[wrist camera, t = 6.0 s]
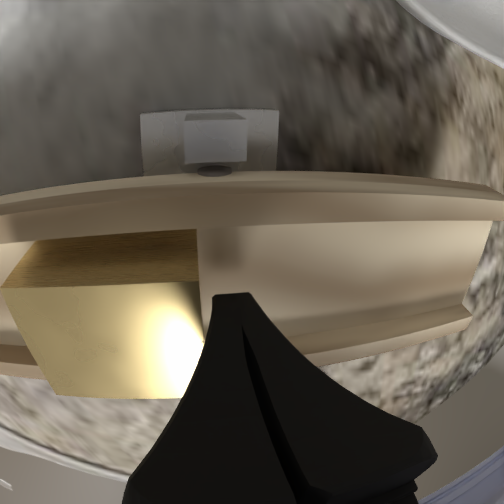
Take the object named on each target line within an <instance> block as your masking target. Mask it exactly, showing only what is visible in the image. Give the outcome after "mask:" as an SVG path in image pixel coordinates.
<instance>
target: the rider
mask: <svg viewBox="0 0 504 504" xmlns="http://www.w3.org/2000/svg"><path fill="white" fill-rule="evenodd" d="M0 290H1V293H2V295H3V297H4V300H5V302H6V304H7V306H8V309H9V311H10V313H11V315H12V317H13V319H14V321H15V323H16V326H17V328H18V330H19V332H20V333H21V335H22V337H23V339H24V341H25V343H26V345H27V347H28V349H29V350H30V352H31V354H32V356H33V357H34V359H35V361H36V363H37V364H38V366H39V368H40V369H41V371H42V373H43V374H44V376H45V378H46V379H47V381H48V382H49V384H50V385H51V387H52V388H53V390H54V392H55V393H56V395H65V396H77V397H93V398H119V399H162V398H182V397H183V395H184V393H185V391H186V389H187V386H188V384H189V382H190V380H191V377H192V375H193V373H194V370H195V368H196V365H197V363H198V360H199V357H200V354H201V351H202V348H203V345H204V342H205V340H204V329H203V318H202V306H201V293H200V279H199V264H198V247H197V229H182V230H166V231H151V232H136V233H122V234H109V235H96V236H83V237H71V238H60V239H49V240H38V241H35V242H34V243H33V245H32V246H31V247H30V248H29V250H28V251H27V252H26V253H25V255H24V256H23V257H22V258H21V260H20V261H19V262H18V264H17V265H16V266H15V268H14V269H13V270H12V272H11V273H10V275H9V276H8V277H7V279H6V280H5V281H4V283H3V284H2V286H1V287H0Z"/></svg>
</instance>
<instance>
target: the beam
mask: <svg viewBox="0 0 504 504" xmlns="http://www.w3.org/2000/svg"><path fill="white" fill-rule="evenodd" d="M493 221H504V195H502V194H501V193H499V192H497V191H495V190H494V189H492V188H490V187H488V186H486V185H482V184H475V183H467V182H459V181H451V180H442V179H432V178H422V177H411V176H399V175H385V174H369V173H350V172H322V171H234V172H232V168H230V167H228V166H222V165H211V166H204V167H201V168H199V169H198V170H197V173H186V174H169V175H155V176H143V177H131V178H121V179H111V180H102V181H93V182H85V183H77V184H69V185H62V186H55V187H48V188H42V189H35V190H29V191H23V192H18V193H12V194H7V195H2V196H0V287H1V286H2V284H3V283H4V281H5V280H6V279H7V277H8V276H9V275H10V273H11V272H12V270H13V269H14V268H15V266H16V265H17V264H18V262H19V261H20V260H21V258H22V257H23V256H24V255H25V253H26V252H27V251H28V250H29V248H30V247H31V246H32V245H33V243H34V242H35V241H38V240H49V239H60V238H71V237H83V236H96V235H109V234H122V233H136V232H151V231H166V230H182V229H197V247H198V264H199V279H200V293H201V306H202V318H203V329H204V340H205V339H206V335H207V331H208V327H209V323H210V318H211V312H212V297H213V296H214V295H215V294H229V293H242V292H249V293H250V294H252V296H253V297H254V299H255V300H256V302H257V303H258V304H259V306H260V307H261V308H262V310H263V311H264V312H265V314H266V315H267V316H268V317H269V319H270V320H271V321H272V322H273V324H274V325H275V326H276V327H277V328H278V329H279V330H280V332H281V333H282V334H283V335H284V336H285V337H286V338H287V339H288V340H289V341H290V342H291V343H292V344H293V346H295V347H296V348H297V349H298V350H299V351H300V352H301V353H302V354H303V355H304V356H305V357H306V358H307V359H308V360H309V361H310V362H311V363H313V364H314V365H315V366H316V367H319V366H325V365H330V364H335V363H340V362H345V361H350V360H355V359H359V358H364V357H368V356H373V355H377V354H381V353H385V352H389V351H393V350H397V349H401V348H405V347H408V346H412V345H416V344H419V343H423V342H426V341H429V340H433V339H436V338H439V337H443V336H446V335H449V334H452V333H455V332H458V331H461V330H464V329H466V328H467V326H468V324H469V323H470V321H471V319H472V317H473V315H472V314H471V313H470V312H469V311H468V310H467V309H466V308H465V307H464V306H463V305H462V302H463V299H464V297H465V295H466V293H467V290H468V288H469V286H470V283H471V281H472V278H473V276H474V273H475V271H476V268H477V266H478V263H479V260H480V258H481V255H482V252H483V249H484V247H485V244H486V241H487V238H488V235H489V232H490V228H491V225H492V222H493ZM0 374H2V375H9V376H16V377H24V378H33V379H43V380H47V379H46V378H45V376H44V374H43V373H42V371H41V369H40V368H39V366H38V364H37V363H36V361H35V359H34V357H33V356H32V354H31V352H30V350H29V349H28V347H27V345H26V343H25V341H24V339H23V337H22V335H21V333H20V332H19V330H18V328H17V326H16V323H15V321H14V319H13V317H12V315H11V313H10V311H9V309H8V306H7V304H6V302H5V300H4V297H3V295H2V293H1V290H0Z"/></svg>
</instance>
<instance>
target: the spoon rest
mask: <svg viewBox="0 0 504 504" xmlns="http://www.w3.org/2000/svg"><path fill="white" fill-rule="evenodd" d="M396 1H397V2H398V3H399V4H400V5H401V6H402V7H403V8H404V9H406V10H407V11H408V12H409V13H410V14H411V15H413V16H414V17H415V18H417V19H418V20H419V21H420V22H422V23H423V24H425V25H426V26H428V27H429V28H431V29H432V30H434V31H435V32H437V33H438V34H440V35H442V36H443V37H445V38H447V39H449V40H451V41H452V42H454V43H456V44H458V45H460V46H461V47H463V48H465V49H467V50H469V51H471V52H472V53H474V54H476V55H478V56H480V57H482V58H484V59H486V60H488V61H490V62H492V63H494V64H496V65H498V66H500V67H502V68H504V0H396Z"/></svg>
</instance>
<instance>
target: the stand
mask: <svg viewBox="0 0 504 504" xmlns="http://www.w3.org/2000/svg"><path fill="white" fill-rule="evenodd" d="M140 128H141V147H142V162H143V175H144V176H155V175H169V174H186V173H197V170H198V169H199V168H201V167H204V166H211V165H222V166H228V167H230V168H232V172H234V171H276V165H277V147H278V128H279V111H278V110H275V109H242V108H226V109H190V110H172V111H159V112H147V113H142V114H140Z"/></svg>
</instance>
